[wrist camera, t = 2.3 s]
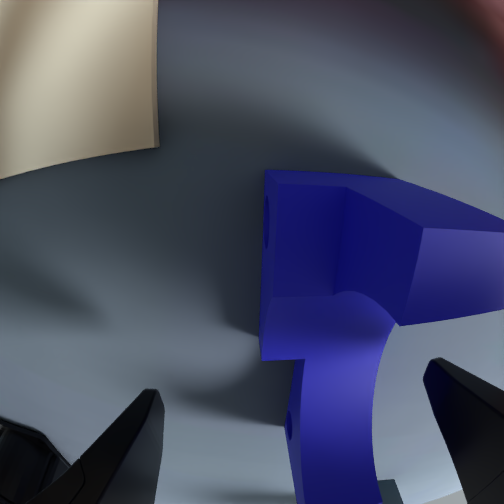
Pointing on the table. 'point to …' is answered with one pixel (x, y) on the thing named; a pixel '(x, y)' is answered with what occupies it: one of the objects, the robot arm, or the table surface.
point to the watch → (389, 492)
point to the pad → (76, 80)
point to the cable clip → (359, 304)
